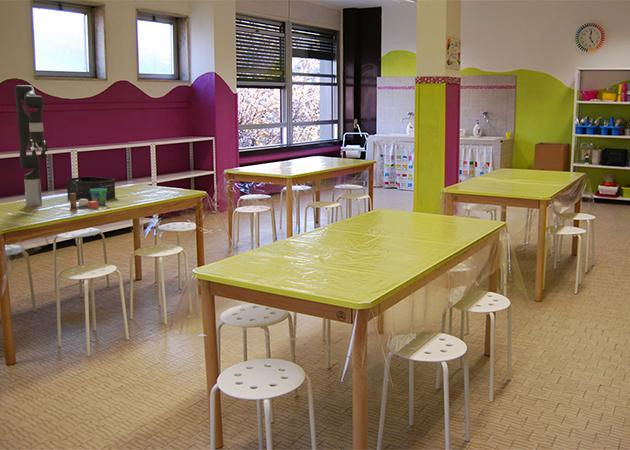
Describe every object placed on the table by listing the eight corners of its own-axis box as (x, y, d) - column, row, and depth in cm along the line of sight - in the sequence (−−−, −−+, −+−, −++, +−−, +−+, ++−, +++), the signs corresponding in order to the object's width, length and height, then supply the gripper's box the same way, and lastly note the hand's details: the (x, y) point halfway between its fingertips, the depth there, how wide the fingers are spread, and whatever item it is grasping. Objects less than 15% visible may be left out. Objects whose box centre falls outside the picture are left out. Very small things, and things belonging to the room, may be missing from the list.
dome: (76, 205, 416) (76, 199, 415) (84, 204, 420) (84, 198, 420) (82, 206, 413) (82, 200, 412) (90, 204, 417) (89, 199, 417)
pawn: (68, 210, 407) (66, 193, 405) (74, 208, 411) (73, 192, 409) (73, 210, 405) (71, 194, 403) (79, 209, 409) (78, 193, 407)
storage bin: (117, 197, 460) (116, 178, 458) (97, 202, 443) (95, 181, 441) (86, 194, 473) (85, 176, 470) (65, 199, 456) (63, 179, 453)
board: (57, 210, 412) (56, 202, 411) (79, 206, 425) (78, 198, 424) (77, 213, 402) (76, 205, 401) (99, 209, 415) (98, 201, 414)
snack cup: (109, 206, 427) (108, 190, 425) (92, 207, 422) (91, 191, 420) (106, 202, 441) (105, 187, 438) (89, 203, 436) (88, 188, 434)
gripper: (23, 130, 392) (25, 158, 395) (38, 131, 384) (40, 159, 387) (35, 129, 398) (37, 157, 401) (49, 130, 390) (52, 158, 393)
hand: (38, 158), depth 394 cm, fingers open, 8 cm apart
